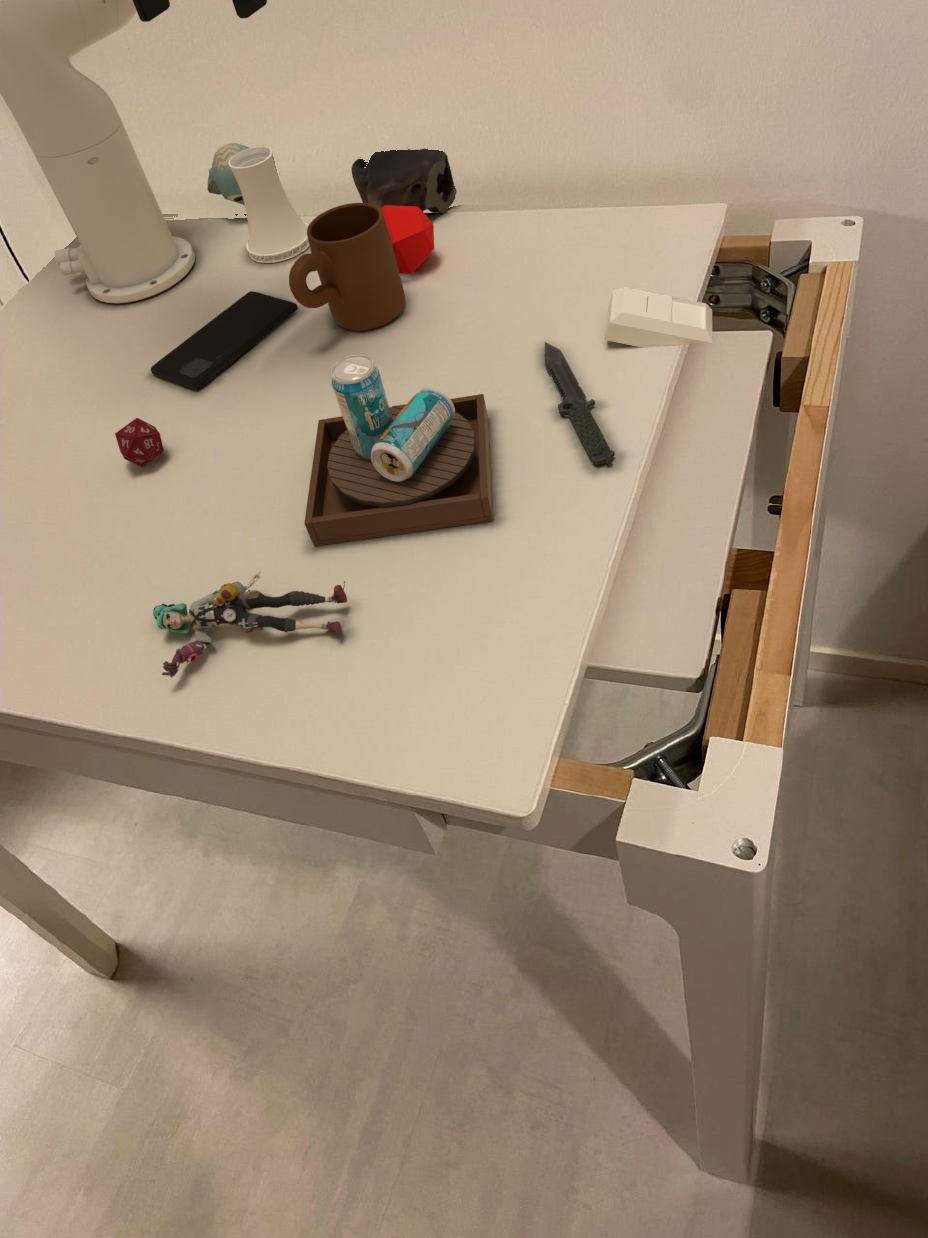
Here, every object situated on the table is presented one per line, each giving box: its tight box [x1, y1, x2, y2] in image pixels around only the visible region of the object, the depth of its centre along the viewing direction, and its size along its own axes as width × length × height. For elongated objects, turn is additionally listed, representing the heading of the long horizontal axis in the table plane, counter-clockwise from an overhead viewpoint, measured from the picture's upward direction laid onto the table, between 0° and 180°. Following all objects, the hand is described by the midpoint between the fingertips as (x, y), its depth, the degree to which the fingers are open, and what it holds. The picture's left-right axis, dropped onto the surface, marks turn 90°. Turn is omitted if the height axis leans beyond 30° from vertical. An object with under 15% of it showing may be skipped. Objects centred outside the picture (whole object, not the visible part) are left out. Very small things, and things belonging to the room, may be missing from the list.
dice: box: [114, 417, 165, 468], centre depth 83 cm, size 4×4×4 cm
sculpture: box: [350, 148, 458, 214], centre depth 104 cm, size 21×6×12 cm
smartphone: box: [150, 290, 299, 391], centre depth 95 cm, size 7×1×15 cm
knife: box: [544, 341, 615, 466], centre depth 79 cm, size 18×1×3 cm
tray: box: [304, 393, 494, 547], centre depth 76 cm, size 14×13×2 cm
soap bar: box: [604, 286, 713, 348], centre depth 83 cm, size 5×9×3 cm, turn 81°
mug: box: [288, 202, 406, 332], centre depth 90 cm, size 12×8×9 cm, turn 143°
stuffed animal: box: [206, 142, 250, 206], centre depth 113 cm, size 11×7×12 cm
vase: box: [228, 145, 310, 264], centre depth 103 cm, size 8×8×10 cm
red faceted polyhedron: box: [381, 205, 435, 275], centre depth 97 cm, size 7×7×8 cm
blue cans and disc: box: [327, 354, 475, 507], centre depth 72 cm, size 12×12×8 cm
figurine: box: [152, 571, 348, 679], centre depth 68 cm, size 7×15×4 cm, turn 101°
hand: (203, 12), depth 73 cm, fingers open, 9 cm apart
